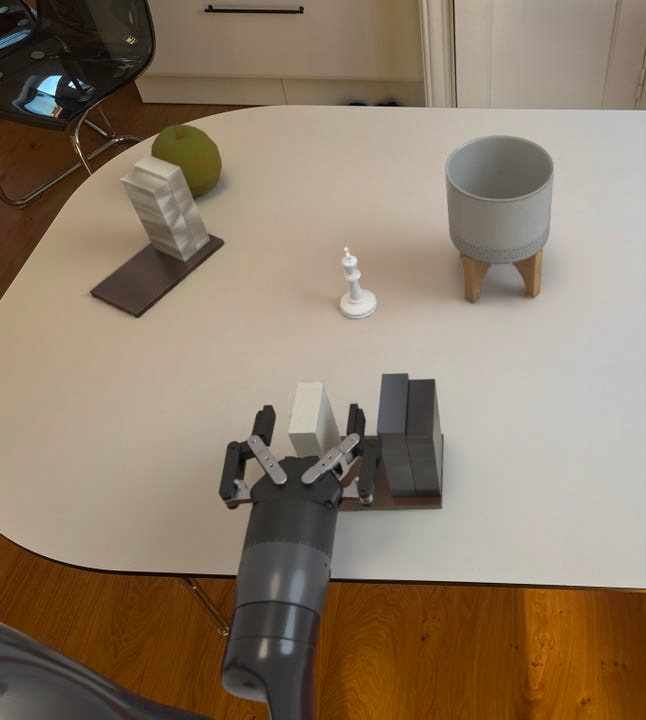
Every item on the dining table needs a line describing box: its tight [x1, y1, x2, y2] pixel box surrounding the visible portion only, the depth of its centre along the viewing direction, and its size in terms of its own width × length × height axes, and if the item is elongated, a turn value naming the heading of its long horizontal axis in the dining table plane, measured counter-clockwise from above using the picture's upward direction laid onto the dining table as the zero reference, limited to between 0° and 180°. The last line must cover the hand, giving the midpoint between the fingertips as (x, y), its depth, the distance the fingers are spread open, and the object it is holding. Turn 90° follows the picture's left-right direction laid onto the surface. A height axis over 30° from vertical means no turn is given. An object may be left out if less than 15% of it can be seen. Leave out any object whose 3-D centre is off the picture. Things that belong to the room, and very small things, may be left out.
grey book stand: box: [338, 372, 445, 512], centre depth 73 cm, size 15×9×13 cm, turn 91°
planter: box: [444, 134, 555, 304], centre depth 91 cm, size 13×13×18 cm
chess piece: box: [339, 247, 378, 319], centre depth 90 cm, size 5×5×10 cm
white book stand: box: [89, 154, 225, 319], centre depth 94 cm, size 17×9×13 cm, turn 151°
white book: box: [287, 381, 342, 469], centre depth 73 cm, size 3×6×12 cm, turn 1°
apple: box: [150, 124, 223, 198], centre depth 107 cm, size 10×10×11 cm
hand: (312, 408), depth 70 cm, fingers open, 8 cm apart
